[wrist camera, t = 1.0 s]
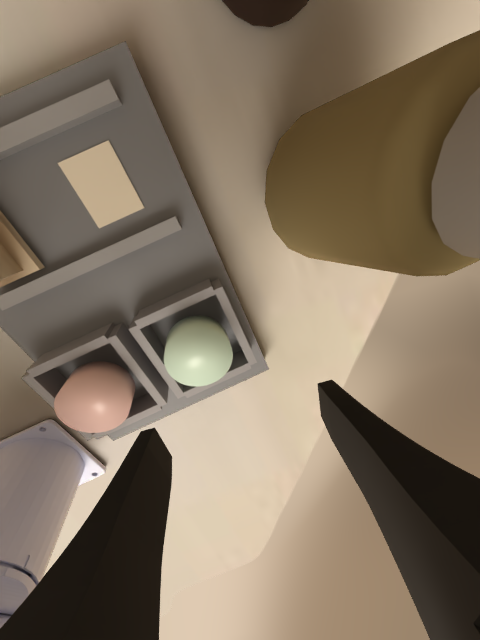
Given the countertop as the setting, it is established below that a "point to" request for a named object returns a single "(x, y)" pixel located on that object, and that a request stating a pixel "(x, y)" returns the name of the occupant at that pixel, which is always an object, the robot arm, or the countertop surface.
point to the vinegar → (265, 10)
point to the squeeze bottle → (387, 170)
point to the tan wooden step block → (15, 254)
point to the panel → (108, 239)
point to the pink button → (95, 397)
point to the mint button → (197, 351)
